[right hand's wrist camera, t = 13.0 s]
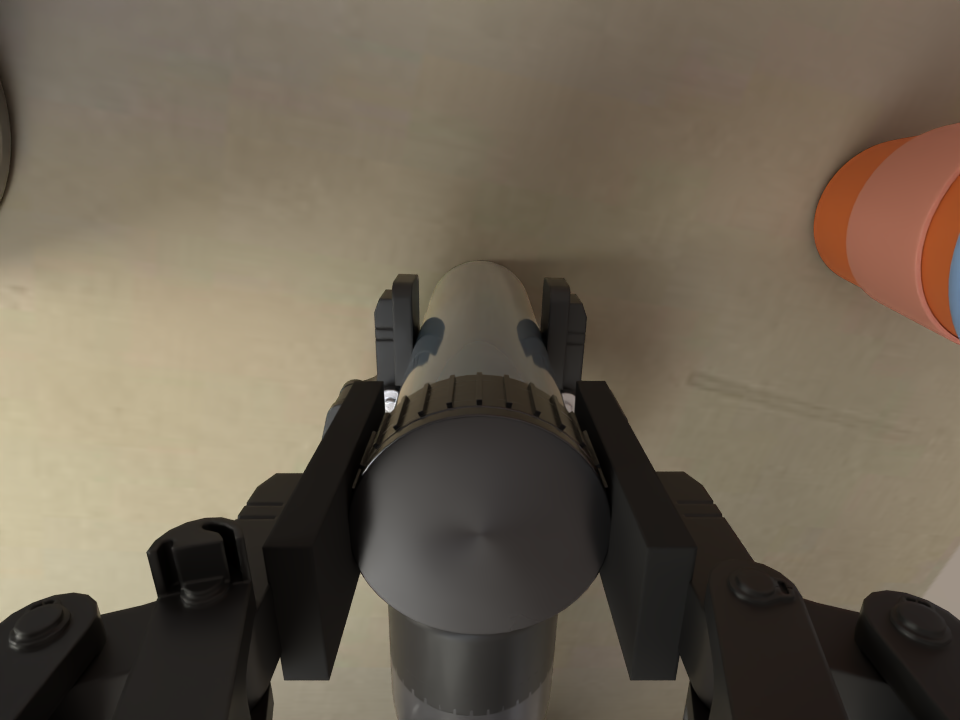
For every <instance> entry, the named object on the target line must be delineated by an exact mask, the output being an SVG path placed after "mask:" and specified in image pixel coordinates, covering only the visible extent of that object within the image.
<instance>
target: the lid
mask: <svg viewBox="0 0 960 720" xmlns="http://www.w3.org/2000/svg"><path fill="white" fill-rule="evenodd" d="M358 468H359V470H358V473H357V475H356V478H355V481H354V483H353V486H352V492H353V494H352V497H351V500H350V504H349V510H348V523H349V534H350V543H351V551H352V554H353V557H354V560H355V562H356V564H357V566H358V568H359V570H360V572H361V574H362V575H363V577H364V578H365V580H366V581H367V583H368V584H369V585H370V587H371V588H372V589H373V590H374V591H375V592H376V593H377V595H378V596H380V597H381V598H382V599H383V600H384V601H385V602H386V603H387V604H389V605H390V606H391V607H393V608H394V609H396V610H397V611H399V612H400V613H401V614H403V615H405V616H407V617H409V618H411V619H413V620H414V621H417V622H419V623H422V624H424V625H427V626H429V627H433V628H436V629H440V630H443V631H448V632H454V633H459V634H471V635H489V634H499V633H507V632H512V631H516V630H520V629H524V628H527V627H530V626H533V625H536V624H538V623H541V622H543V621H545V620H547V619H549V618H551V617H553V616H555V615H556V614H558V613H559V612H561V611H563V610H564V609H566V608H567V607H568V606H569V605H571V604H572V603H573V602H575V601H576V600H577V599H578V598H579V597H580V596H581V595H582V594H583V593H584V592H585V591H586V590H587V589H588V587H589V586H590V585H591V583H592V582H593V581H594V579H595V578H596V577H597V575H598V573H599V571H600V569H601V568H602V566H603V564H604V561H605V558H606V556H607V553H608V549H609V540H610V530H611V518H612V513H611V506H610V502H609V498H608V494H607V491H608V486H607V483H606V480H605V478H604V475H603V473H602V470H601V465H600V463H599V460H598V458H597V455H596V452H595V450H594V447H593V445H592V442H591V440H590V437H589V435H588V432H587V431H586V430H585V431H582V429H581V427H580V426H579V423H578V421H577V418H576V415H575V413H574V412H573V411H571V412H570V413H569V411H568V410H567V409H566V408H565V407H564V406H562V405H561V404H560V403H559V402H558V399H557V397H556V396H555V395H552V396H550V395H548V394H547V393H545V392H544V391H542V390H540V389H538V388H536V387H535V384H534V383H531V382H530V383H529V384H527V383H524V382H521V381H519V380H516V379H512V378H509V375H505V374H504V377H502V376H495V375H484V374H482V372H477V375H464V376H458V377H455V375H450V378H448V379H445V380H441V381H438V382H435V383H433V384H429V382H428V383H426V384H424V387H423V388H421V389H420V390H418V391H416V392H415V393H413V394H411V395H410V396H408V397H407V396H406V395H405V396H403V397H402V399H401V403H399V404H398V405H397V406H396V407H395V408H394V409H393V410H392V411H391V412H390V413H389V412H386V413H385V414H384V416H383V419H382V422H381V424H380V426H379V428H378V430H377V432H375V431H373V432H372V434H371V436H370V439H369V441H368V444H367V446H366V449H365V451H364V454H363V457H362V459H361V462H360V464H359V467H358Z"/></svg>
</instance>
